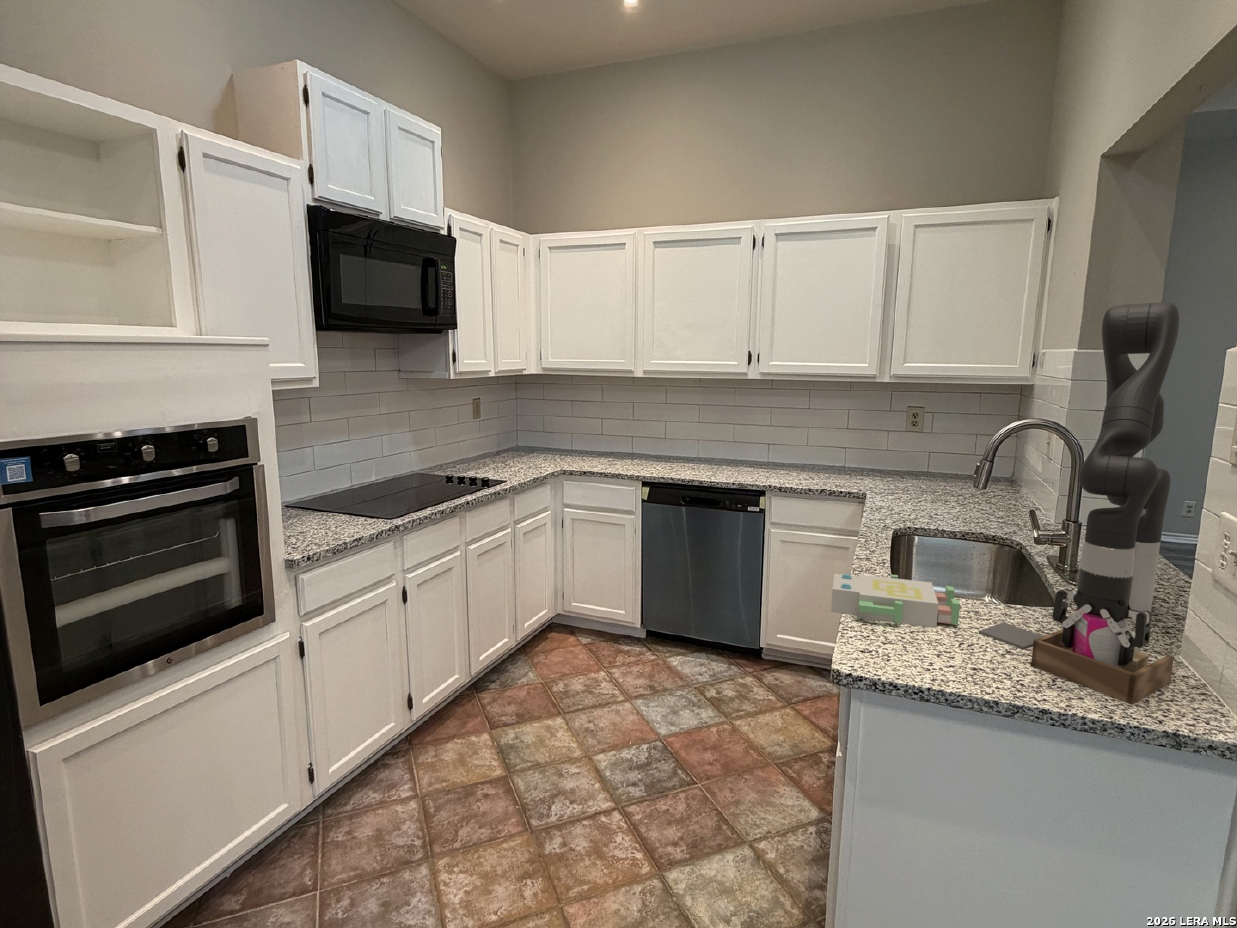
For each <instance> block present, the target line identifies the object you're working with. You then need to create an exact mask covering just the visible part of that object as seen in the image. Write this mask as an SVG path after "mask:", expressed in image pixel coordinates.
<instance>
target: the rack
mask: <svg viewBox="0 0 1237 928" xmlns="http://www.w3.org/2000/svg"><path fill="white" fill-rule="evenodd" d="M1062 635H1063V628H1062V629H1059V630H1057V631H1054V632H1052V633H1049V634H1046V635H1043V636H1044V637H1041V638H1038V639H1036V640H1034V642H1033V646H1032V652H1031V660H1030V661H1031V662H1030V667H1033V668H1036V669H1039V670H1041V671H1044V672H1046V673H1048V674H1052V675H1054V676H1057V677H1058V678H1062V679H1064V680H1067V681H1070V682H1073V683H1075V684H1077V685H1080V686H1083V687H1086V688H1088V689H1090V690H1093V691H1095V692H1099V693H1101V694H1103V695H1107V696H1109V697H1112V698H1114V699H1116V700H1120V701H1122V702H1124V703H1128V704H1130V705H1134V704H1135V703H1137V702H1139V701H1141V700H1143V699H1144V698H1146V697H1148V696H1149V695H1151V694H1154V693H1155V692H1157V691H1158V690H1160V689H1163V688H1164V687H1166V686H1167V685H1169V684H1171V681H1172V680H1171V679H1172V673H1173V667H1174V661H1175V660H1174V658H1175V656H1174V655H1171V654H1167V655H1165V656H1163V657H1161V658H1159V659H1158V660H1155V661H1154V662H1151V663H1150V664H1149V663H1148V665H1147V666H1145V667H1143V668H1141V669H1139V670H1138V671H1136V672H1134V673H1132V672H1129V671H1126V670H1124V669H1121V668H1118V667H1115V666H1112V665H1109V664H1106V663H1103V662H1101V661H1098V660H1095V659H1092V658H1089V657H1086V656H1083V655H1080V654H1078V653H1075V652H1072V650H1073V647H1072V648H1066V647H1065V646H1064V645H1065V644H1064V643H1063V642H1062Z"/></svg>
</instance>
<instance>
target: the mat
mask: <svg viewBox="0 0 1237 928" xmlns="http://www.w3.org/2000/svg"><path fill="white" fill-rule="evenodd" d="M978 634H980V635H983V636H986V637H989V638H991V639H994V640H997V641H999V642H1002V643H1003V644H1004V643H1005V644H1007V645H1010V646H1013V647H1015V648H1018V649H1021V650H1025V649H1028V648H1031V647H1033V642H1034V640H1036V639H1038V638H1041V637H1044V636H1045V635H1041V634H1039V633H1036V632H1033V631H1029V630H1027V629H1024V628H1021V627H1018V626H1016V625H1012V624H1009V623H1007V622H1005V621H1003V622H1001V623H997V624H994V625H992V626H989V627H987V628H983V629H979V631H978Z"/></svg>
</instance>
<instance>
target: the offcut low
mask: <svg viewBox="0 0 1237 928" xmlns="http://www.w3.org/2000/svg"><path fill="white" fill-rule="evenodd" d="M1149 659H1150V655H1149V654H1147V653H1143V652H1140V651H1138V652H1137V654H1136V655H1135V656H1134V658H1133V661H1132V662H1131V663H1130V664H1128V665H1126V666H1124V667H1121V669H1124V670H1126V671H1129V672H1132V673H1134V672H1136V671H1138V670H1139V669H1141V668H1143V667H1145V666H1147V665H1149Z"/></svg>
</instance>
